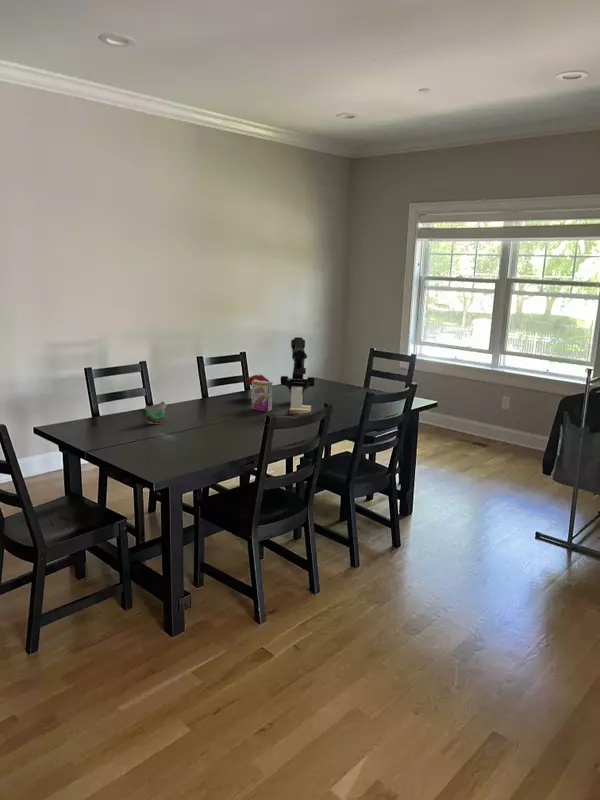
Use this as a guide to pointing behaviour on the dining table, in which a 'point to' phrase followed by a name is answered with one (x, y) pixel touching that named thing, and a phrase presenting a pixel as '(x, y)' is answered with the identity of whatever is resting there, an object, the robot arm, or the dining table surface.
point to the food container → (155, 413)
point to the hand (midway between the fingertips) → (296, 394)
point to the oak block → (300, 409)
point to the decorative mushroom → (256, 377)
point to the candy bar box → (261, 395)
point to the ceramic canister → (296, 396)
